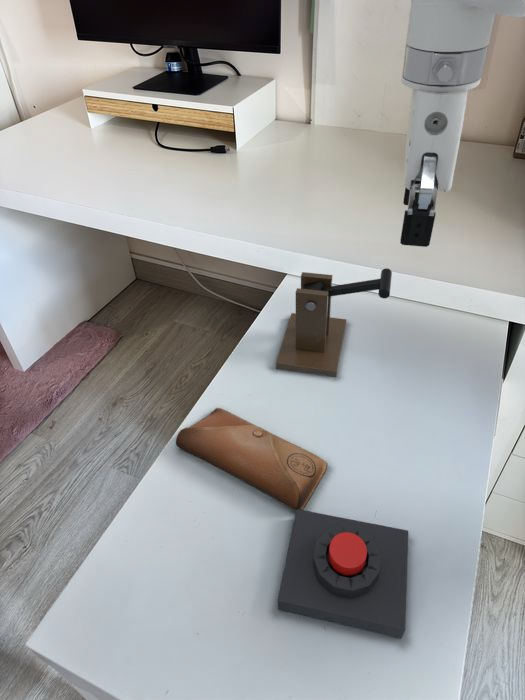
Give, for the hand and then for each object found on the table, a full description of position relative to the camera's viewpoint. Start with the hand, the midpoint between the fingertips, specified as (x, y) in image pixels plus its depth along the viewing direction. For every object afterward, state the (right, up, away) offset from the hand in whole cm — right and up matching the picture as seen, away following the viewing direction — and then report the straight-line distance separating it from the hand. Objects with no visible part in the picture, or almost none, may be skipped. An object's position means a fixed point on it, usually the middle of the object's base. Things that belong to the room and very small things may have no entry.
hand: (415, 223), depth 61 cm
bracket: (-11, -15, +17) cm, 25 cm away
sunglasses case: (-20, -29, +3) cm, 35 cm away
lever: (-6, -8, +10) cm, 14 cm away
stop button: (-10, -36, -11) cm, 39 cm away
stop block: (-10, -38, -8) cm, 41 cm away
